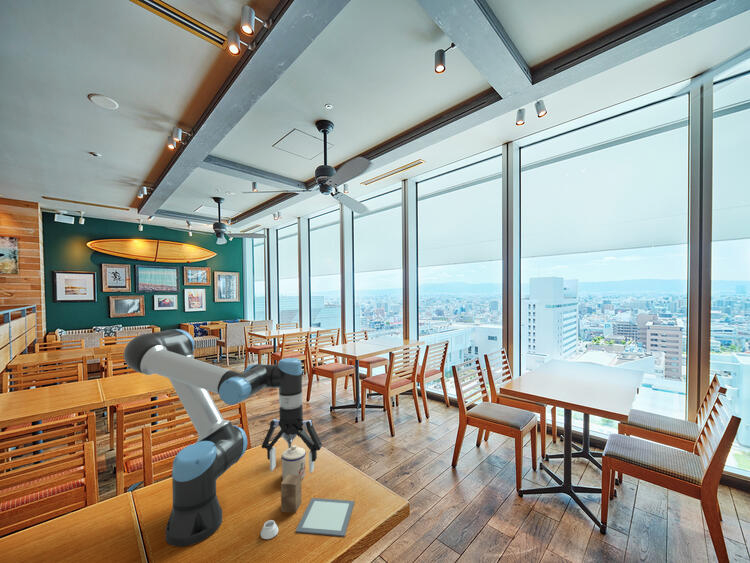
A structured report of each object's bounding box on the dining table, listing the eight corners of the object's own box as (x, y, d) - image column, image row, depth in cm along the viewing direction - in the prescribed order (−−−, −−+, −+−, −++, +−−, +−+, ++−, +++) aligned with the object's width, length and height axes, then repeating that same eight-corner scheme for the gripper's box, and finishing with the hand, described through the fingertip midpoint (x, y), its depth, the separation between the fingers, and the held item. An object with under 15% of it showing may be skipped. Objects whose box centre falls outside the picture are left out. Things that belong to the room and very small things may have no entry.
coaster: (295, 532, 94) (295, 530, 94) (311, 499, 109) (311, 497, 109) (344, 536, 92) (344, 535, 92) (354, 502, 107) (354, 500, 107)
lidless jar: (261, 529, 96) (260, 542, 91) (261, 519, 96) (259, 531, 91) (278, 525, 97) (278, 538, 92) (278, 516, 97) (278, 527, 92)
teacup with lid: (303, 483, 118) (303, 451, 118) (279, 484, 118) (278, 452, 118) (309, 465, 130) (308, 436, 130) (286, 466, 130) (286, 437, 130)
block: (281, 511, 103) (281, 483, 103) (287, 501, 108) (287, 474, 108) (295, 512, 103) (295, 484, 103) (301, 502, 108) (301, 475, 108)
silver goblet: (276, 461, 134) (276, 425, 134) (285, 451, 141) (285, 417, 142) (294, 462, 132) (294, 426, 133) (302, 452, 140) (301, 418, 140)
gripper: (250, 408, 104) (251, 474, 103) (323, 410, 101) (325, 478, 100) (261, 400, 111) (262, 461, 111) (330, 402, 108) (331, 464, 108)
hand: (292, 469), depth 106 cm, fingers open, 13 cm apart
